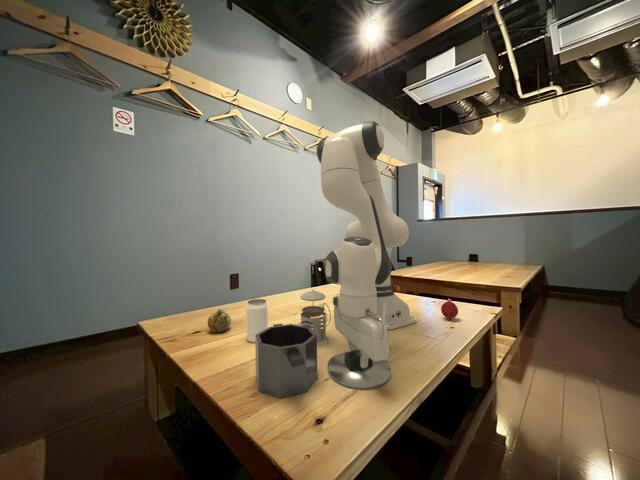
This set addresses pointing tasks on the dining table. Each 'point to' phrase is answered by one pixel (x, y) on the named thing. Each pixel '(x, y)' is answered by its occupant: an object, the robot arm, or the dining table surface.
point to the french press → (315, 315)
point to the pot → (286, 360)
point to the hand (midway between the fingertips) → (358, 361)
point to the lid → (358, 371)
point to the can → (256, 318)
